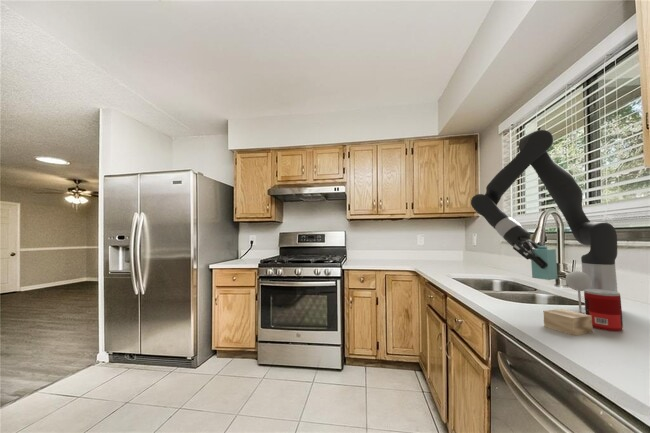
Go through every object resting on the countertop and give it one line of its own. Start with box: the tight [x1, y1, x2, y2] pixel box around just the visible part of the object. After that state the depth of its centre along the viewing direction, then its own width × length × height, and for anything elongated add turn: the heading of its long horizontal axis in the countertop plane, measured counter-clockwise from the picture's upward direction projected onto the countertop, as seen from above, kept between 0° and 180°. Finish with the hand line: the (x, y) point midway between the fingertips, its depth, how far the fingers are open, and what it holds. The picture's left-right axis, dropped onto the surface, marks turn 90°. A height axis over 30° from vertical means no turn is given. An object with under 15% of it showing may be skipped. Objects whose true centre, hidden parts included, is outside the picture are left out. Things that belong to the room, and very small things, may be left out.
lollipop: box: [565, 270, 592, 314], centre depth 99 cm, size 7×7×15 cm
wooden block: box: [543, 308, 594, 336], centre depth 82 cm, size 8×8×5 cm
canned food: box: [583, 289, 624, 332], centre depth 84 cm, size 8×8×11 cm
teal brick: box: [530, 245, 558, 281], centre depth 93 cm, size 5×5×11 cm
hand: (550, 266), depth 91 cm, fingers closed on teal brick, 5 cm apart
